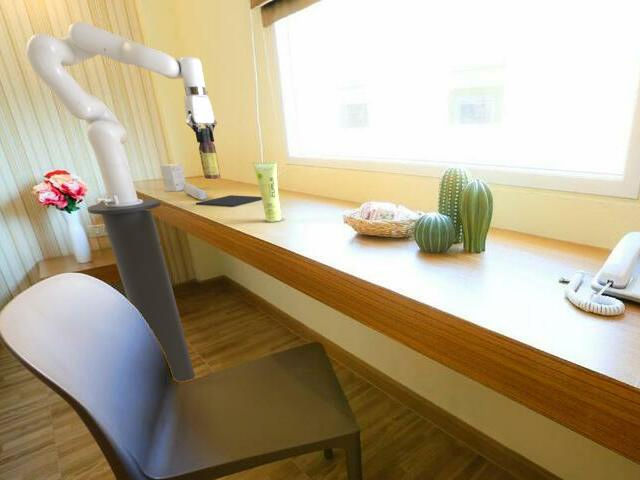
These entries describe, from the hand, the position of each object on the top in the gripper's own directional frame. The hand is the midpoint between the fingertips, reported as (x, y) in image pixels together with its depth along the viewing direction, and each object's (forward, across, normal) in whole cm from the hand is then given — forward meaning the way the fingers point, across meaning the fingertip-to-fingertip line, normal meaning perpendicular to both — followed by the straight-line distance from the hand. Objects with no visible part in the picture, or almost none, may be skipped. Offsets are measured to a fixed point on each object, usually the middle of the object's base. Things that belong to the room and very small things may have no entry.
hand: (205, 141), depth 160 cm
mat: (+25, -4, +4) cm, 25 cm away
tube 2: (+25, +22, +47) cm, 58 cm away
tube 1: (+25, -8, -21) cm, 34 cm away
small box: (+25, -22, -50) cm, 60 cm away
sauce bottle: (+15, 0, 0) cm, 15 cm away
